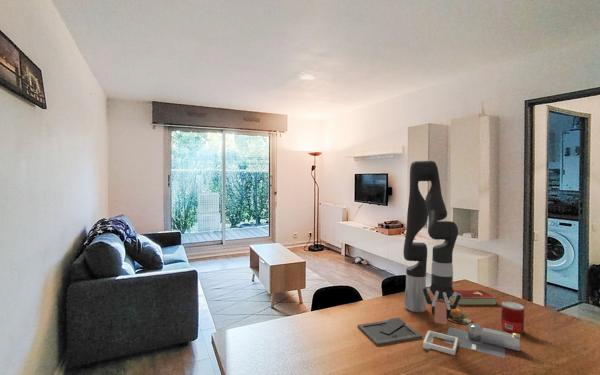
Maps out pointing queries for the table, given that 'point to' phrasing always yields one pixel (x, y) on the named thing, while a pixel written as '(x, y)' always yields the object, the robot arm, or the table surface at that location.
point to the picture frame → (389, 331)
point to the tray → (428, 344)
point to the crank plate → (474, 343)
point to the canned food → (512, 317)
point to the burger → (459, 317)
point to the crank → (493, 337)
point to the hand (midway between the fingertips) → (441, 316)
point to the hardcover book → (474, 297)
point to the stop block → (440, 311)
